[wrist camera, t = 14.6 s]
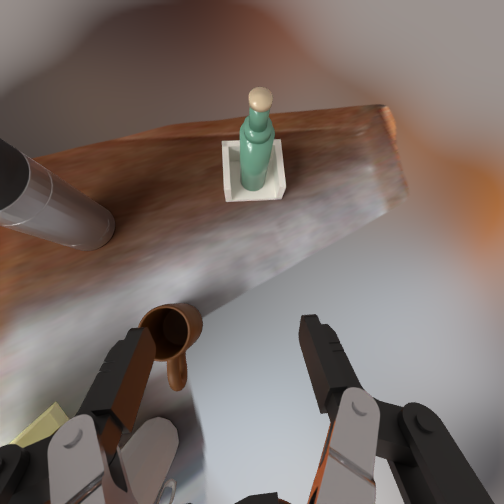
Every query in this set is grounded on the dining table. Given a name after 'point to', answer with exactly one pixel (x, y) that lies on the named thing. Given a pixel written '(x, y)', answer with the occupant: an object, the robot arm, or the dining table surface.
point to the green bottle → (256, 140)
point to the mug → (173, 337)
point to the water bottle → (150, 459)
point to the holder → (231, 174)
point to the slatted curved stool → (42, 426)
